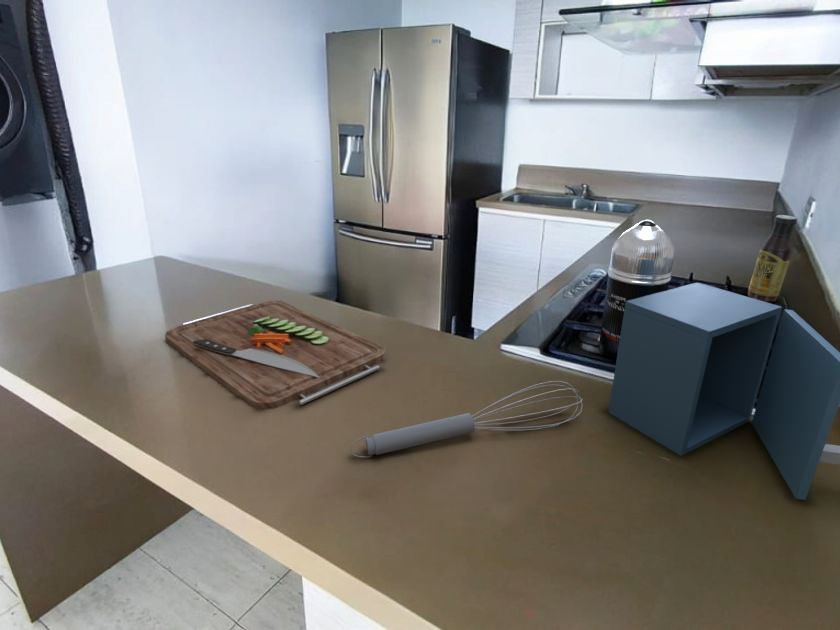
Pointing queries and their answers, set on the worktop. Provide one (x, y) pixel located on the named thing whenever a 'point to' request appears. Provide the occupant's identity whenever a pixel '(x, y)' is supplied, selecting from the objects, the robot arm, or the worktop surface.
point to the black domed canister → (634, 276)
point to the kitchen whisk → (448, 427)
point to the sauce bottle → (773, 261)
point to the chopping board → (275, 352)
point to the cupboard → (691, 363)
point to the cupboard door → (799, 403)
